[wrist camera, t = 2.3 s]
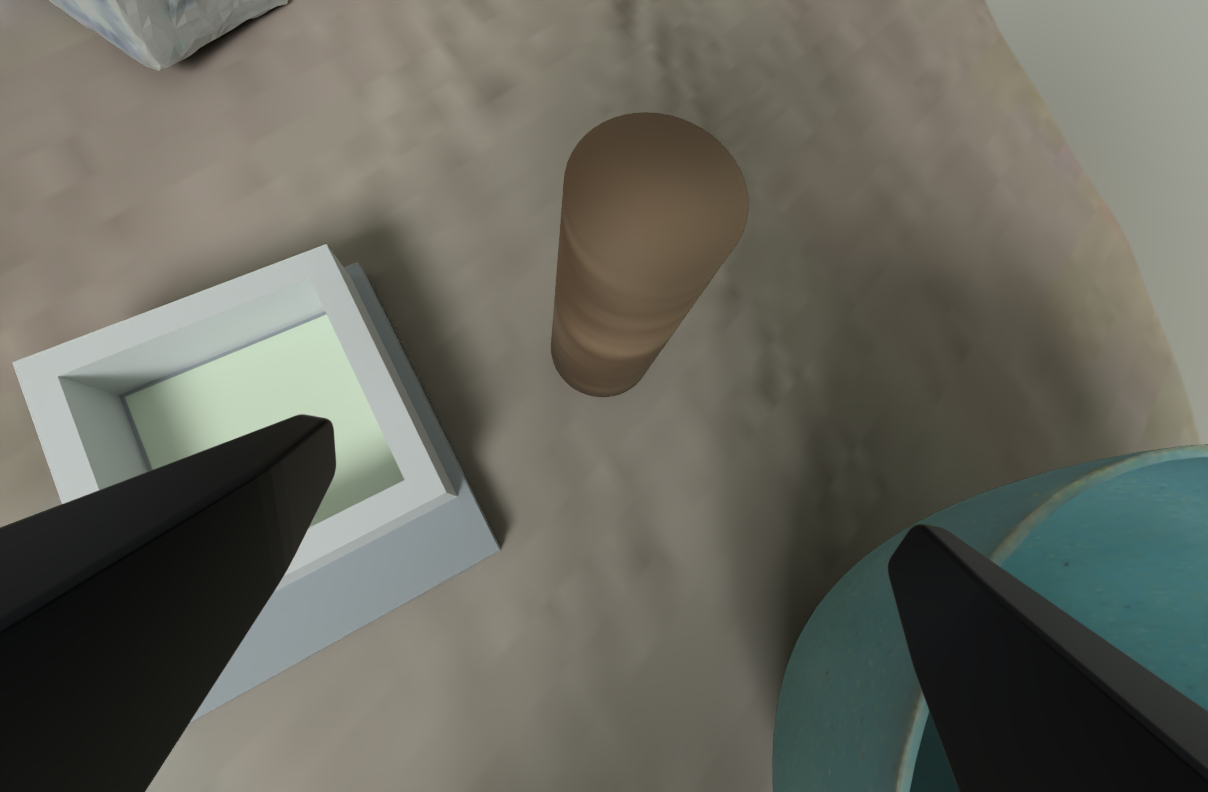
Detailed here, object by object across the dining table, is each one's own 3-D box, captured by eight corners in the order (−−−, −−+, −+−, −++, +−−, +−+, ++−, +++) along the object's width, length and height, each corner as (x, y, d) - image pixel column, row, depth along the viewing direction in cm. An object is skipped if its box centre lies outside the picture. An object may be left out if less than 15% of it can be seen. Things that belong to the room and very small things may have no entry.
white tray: (501, 549, 20) (494, 554, 17) (175, 730, 17) (88, 779, 14) (365, 272, 22) (334, 227, 19) (54, 396, 19) (-47, 369, 16)
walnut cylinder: (668, 369, 23) (783, 233, 12) (580, 414, 22) (622, 308, 11) (620, 287, 23) (689, 89, 13) (533, 326, 22) (530, 148, 12)
